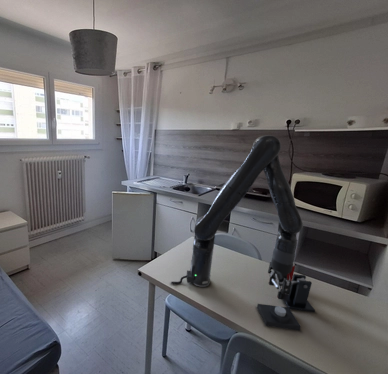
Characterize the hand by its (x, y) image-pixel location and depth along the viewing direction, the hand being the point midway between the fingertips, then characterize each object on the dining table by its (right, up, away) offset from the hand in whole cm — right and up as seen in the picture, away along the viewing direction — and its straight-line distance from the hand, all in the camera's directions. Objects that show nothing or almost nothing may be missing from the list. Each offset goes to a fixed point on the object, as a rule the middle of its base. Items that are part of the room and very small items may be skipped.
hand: (275, 291), depth 96 cm
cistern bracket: (+9, -5, 0) cm, 10 cm away
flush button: (-5, -4, -10) cm, 11 cm away
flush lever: (+5, +3, -2) cm, 6 cm away
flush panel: (-4, -7, -8) cm, 12 cm away
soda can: (+12, -2, +12) cm, 17 cm away
